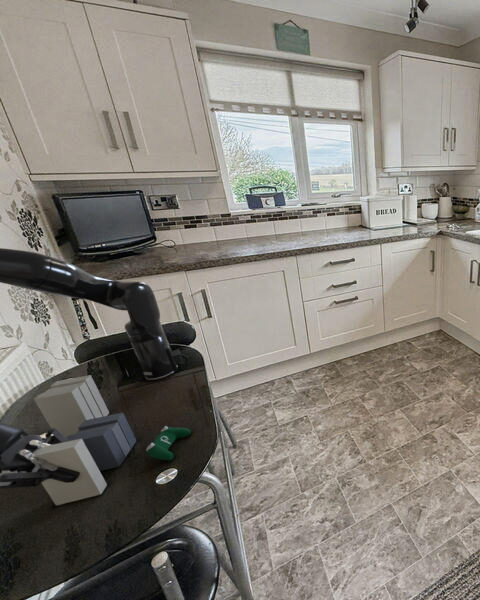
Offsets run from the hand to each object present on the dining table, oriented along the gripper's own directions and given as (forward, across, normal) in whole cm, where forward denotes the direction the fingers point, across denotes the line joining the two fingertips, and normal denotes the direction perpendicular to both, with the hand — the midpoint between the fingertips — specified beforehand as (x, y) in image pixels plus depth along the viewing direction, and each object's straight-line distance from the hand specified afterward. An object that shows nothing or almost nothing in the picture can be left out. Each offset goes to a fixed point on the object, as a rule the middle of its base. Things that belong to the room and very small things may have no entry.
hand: (81, 471), depth 67 cm
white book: (+3, 0, +6) cm, 6 cm away
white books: (-7, +26, +15) cm, 31 cm away
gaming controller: (+13, +8, -4) cm, 16 cm away
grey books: (+3, +10, +6) cm, 12 cm away
